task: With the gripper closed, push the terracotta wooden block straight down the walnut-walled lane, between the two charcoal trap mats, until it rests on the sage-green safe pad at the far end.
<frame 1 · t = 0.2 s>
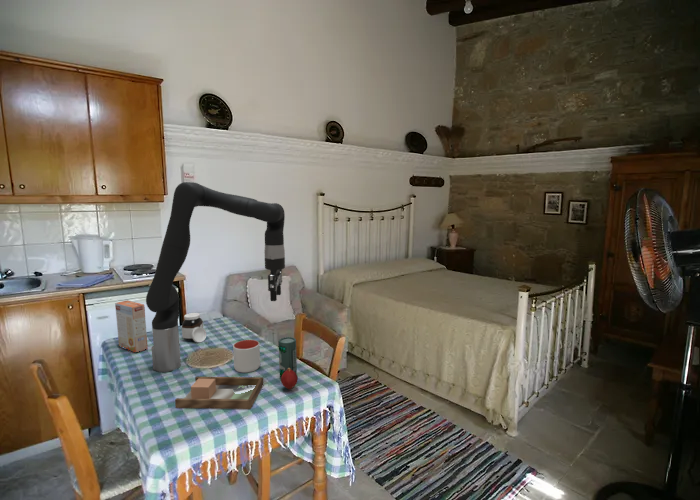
hand: (275, 297, 148), 29 cm above the table, tool pointing down, fingers open, 8 cm apart
spread jar: (195, 339, 184), on the table
cup: (247, 368, 153), on the table
can: (288, 378, 144), on the table
red oval fruit: (289, 389, 136), on the table
block: (204, 395, 132), resting on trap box
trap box: (221, 396, 132), on the table
cracker box: (133, 348, 173), on the table
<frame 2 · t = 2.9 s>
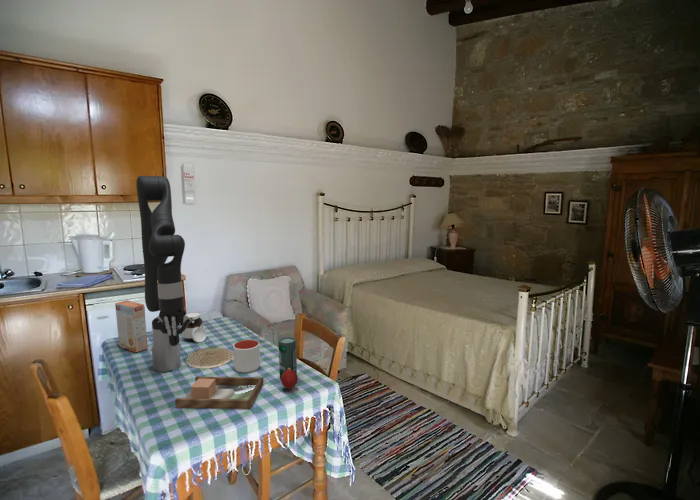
hand: (174, 345, 130), 18 cm above the table, tool pointing down, fingers closed
nothing on the table moved.
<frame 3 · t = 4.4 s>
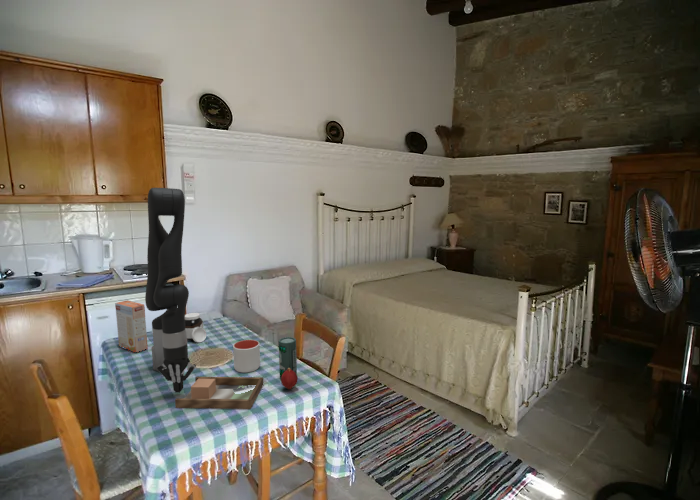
hand: (178, 391, 132), 2 cm above the table, tool pointing down, fingers closed
nothing on the table moved.
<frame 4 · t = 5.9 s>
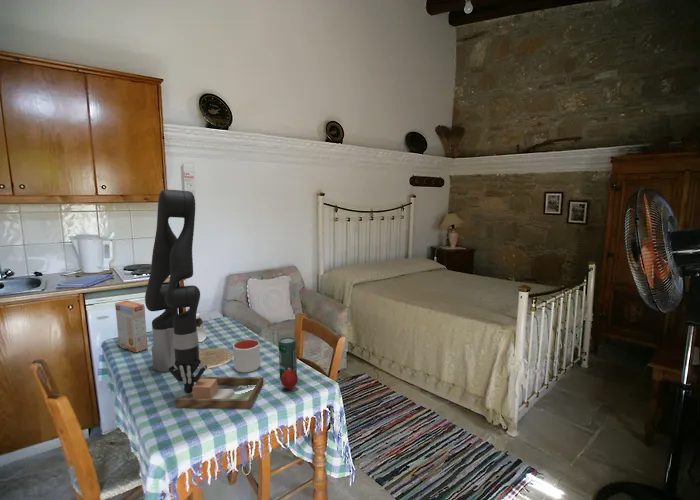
hand: (189, 392, 132), 1 cm above the table, tool pointing down, fingers closed
block: (205, 395, 132), resting on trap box, touching gripper
everything else where it was.
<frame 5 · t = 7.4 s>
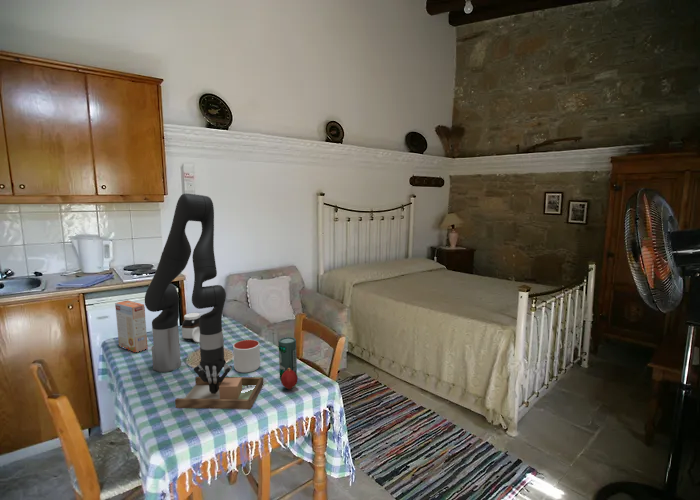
hand: (214, 392, 131), 1 cm above the table, tool pointing down, fingers closed
block: (231, 394, 132), resting on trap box, touching gripper
everything else where it was.
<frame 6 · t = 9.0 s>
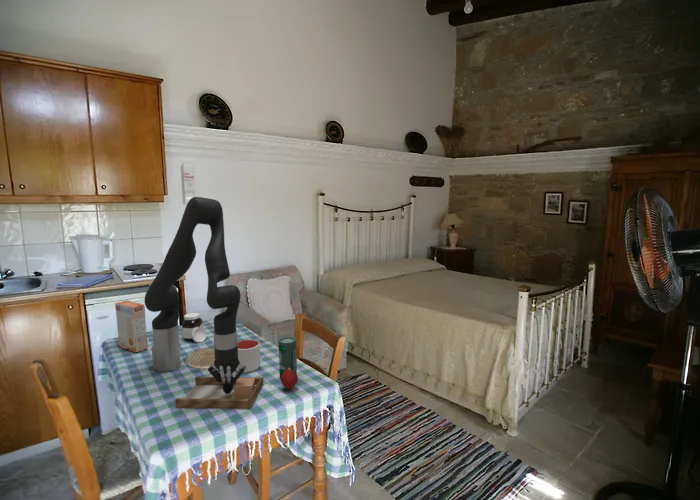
hand: (228, 392, 131), 1 cm above the table, tool pointing down, fingers closed
block: (245, 394, 132), resting on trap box, touching gripper
everything else where it was.
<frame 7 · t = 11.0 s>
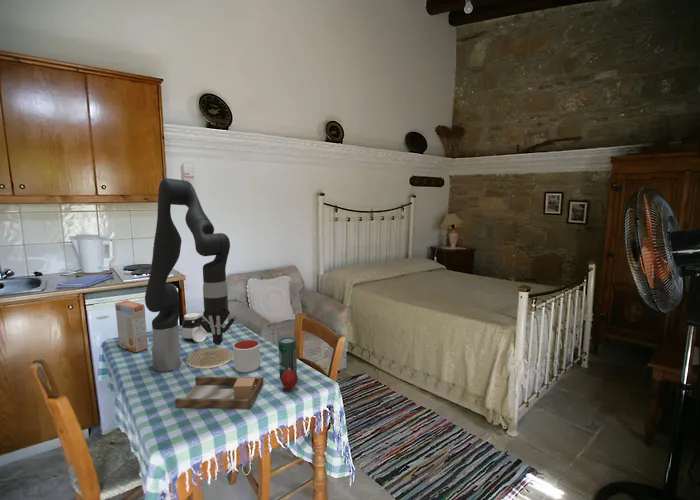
hand: (218, 344, 129), 19 cm above the table, tool pointing down, fingers closed
block: (245, 394, 132), resting on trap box
everything else where it was.
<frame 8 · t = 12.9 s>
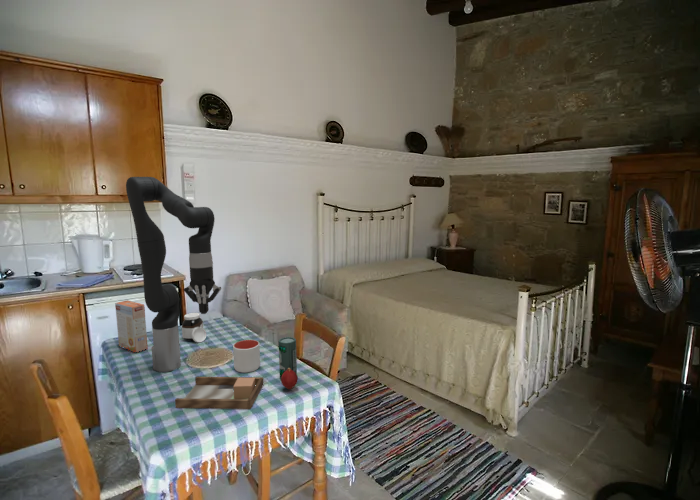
hand: (204, 313, 135), 27 cm above the table, tool pointing down, fingers closed
nothing on the table moved.
at the end: block 1.1 cm from the target spot, resting on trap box; block moved 13.9 cm from its start; block tilted 0° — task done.
